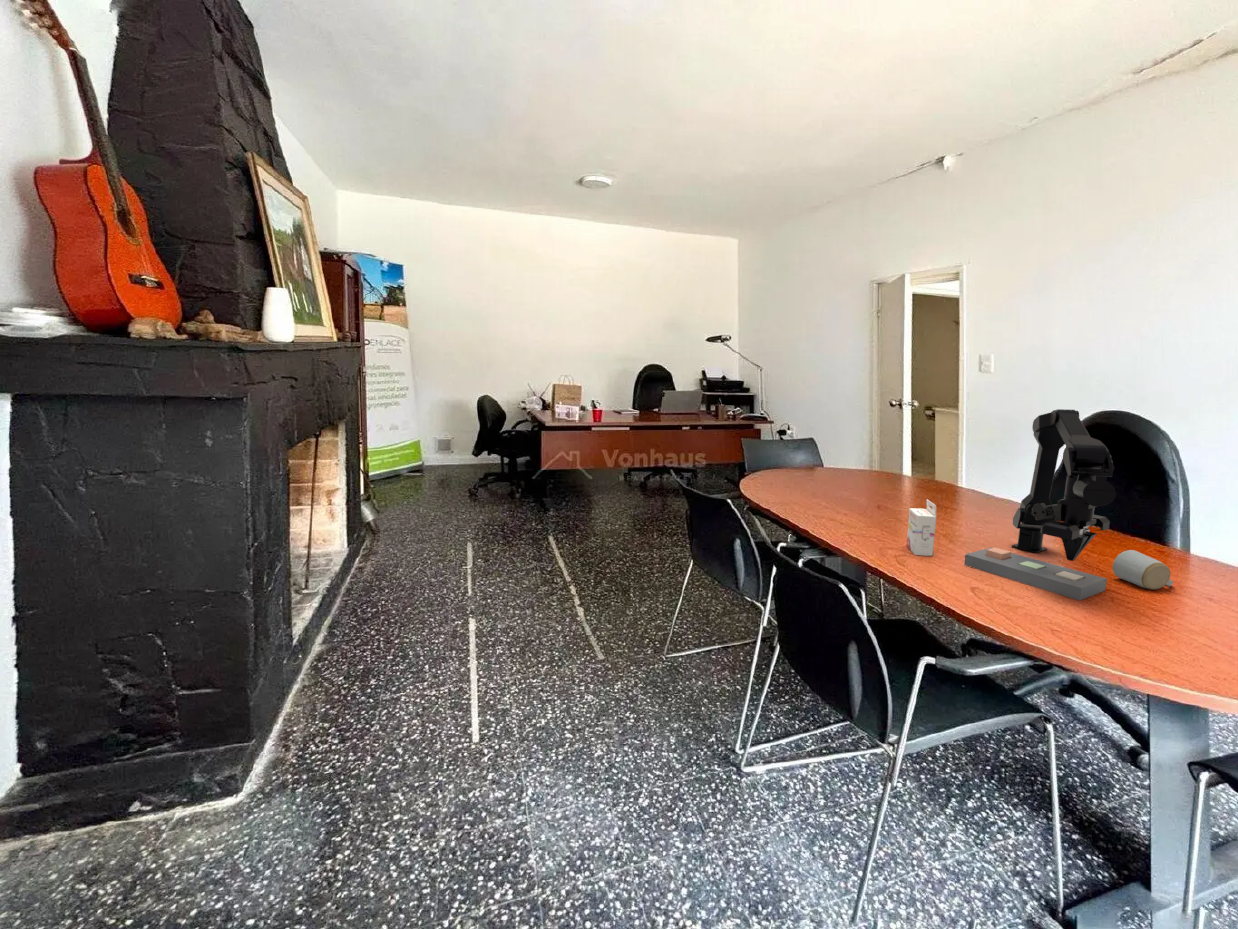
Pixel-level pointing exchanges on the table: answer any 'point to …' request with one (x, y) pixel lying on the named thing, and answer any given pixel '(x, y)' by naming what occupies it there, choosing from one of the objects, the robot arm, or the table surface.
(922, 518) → the ink cartridge box
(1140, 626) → the table surface
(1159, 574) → the ceramic mug
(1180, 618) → the table surface
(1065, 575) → the cream button
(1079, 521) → the robot arm
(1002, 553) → the terracotta button
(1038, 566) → the sage button
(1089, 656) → the table surface
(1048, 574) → the console
